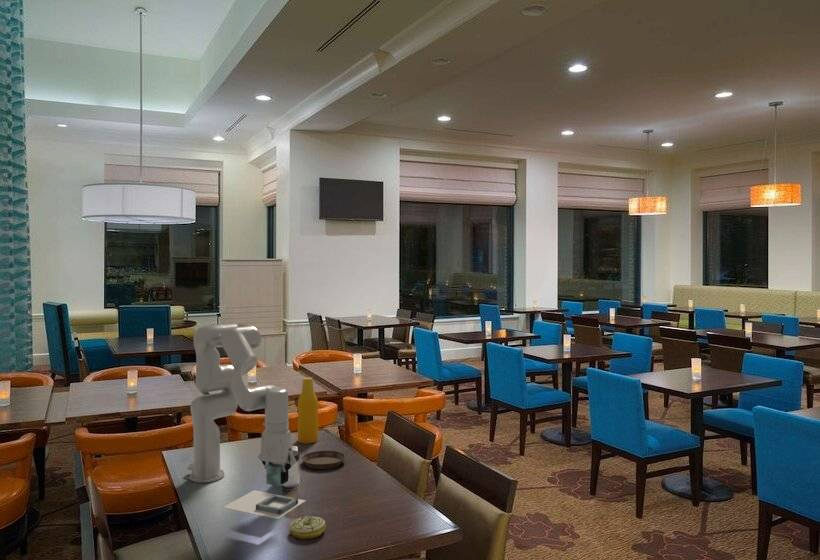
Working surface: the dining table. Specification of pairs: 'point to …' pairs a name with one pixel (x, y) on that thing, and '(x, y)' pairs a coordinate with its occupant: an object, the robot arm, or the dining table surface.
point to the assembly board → (265, 504)
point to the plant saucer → (323, 459)
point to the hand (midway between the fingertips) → (277, 480)
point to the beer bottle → (307, 413)
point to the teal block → (274, 474)
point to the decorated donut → (307, 527)
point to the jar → (293, 471)
